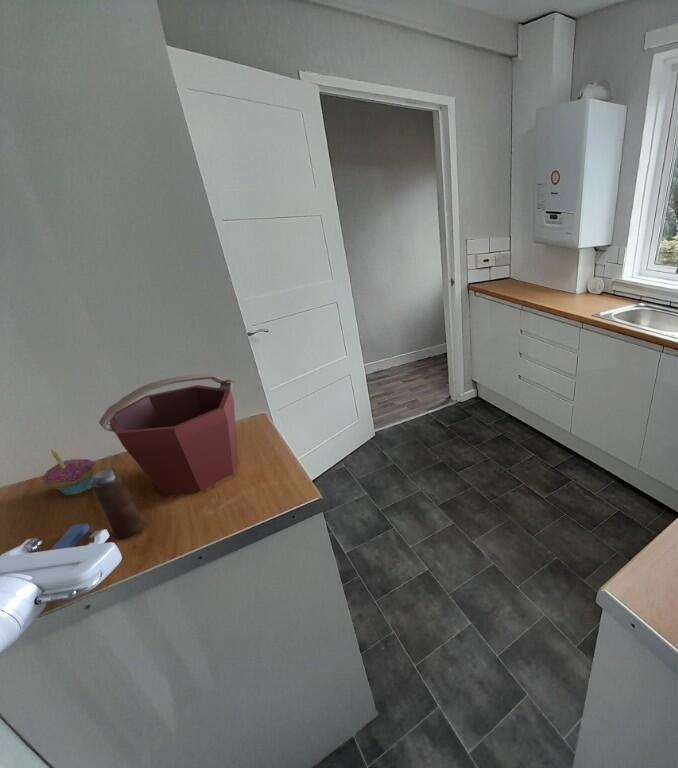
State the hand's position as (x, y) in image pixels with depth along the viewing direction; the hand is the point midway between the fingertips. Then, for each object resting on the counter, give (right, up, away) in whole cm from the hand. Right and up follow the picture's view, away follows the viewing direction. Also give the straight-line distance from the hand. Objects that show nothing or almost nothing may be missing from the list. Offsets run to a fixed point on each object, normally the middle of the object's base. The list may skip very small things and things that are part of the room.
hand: (70, 536), depth 69 cm
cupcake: (-25, +2, +25) cm, 35 cm away
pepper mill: (-3, -4, +14) cm, 14 cm away
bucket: (-1, +4, +31) cm, 31 cm away
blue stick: (-9, -6, +8) cm, 14 cm away
